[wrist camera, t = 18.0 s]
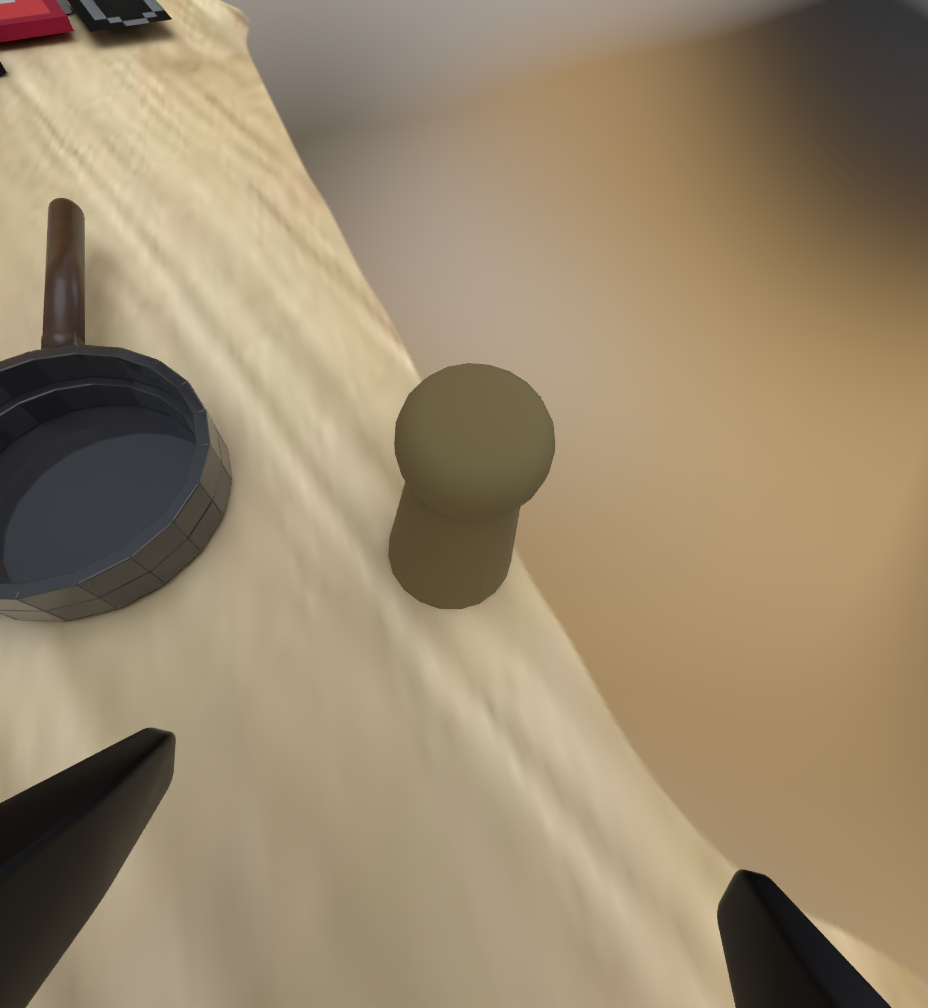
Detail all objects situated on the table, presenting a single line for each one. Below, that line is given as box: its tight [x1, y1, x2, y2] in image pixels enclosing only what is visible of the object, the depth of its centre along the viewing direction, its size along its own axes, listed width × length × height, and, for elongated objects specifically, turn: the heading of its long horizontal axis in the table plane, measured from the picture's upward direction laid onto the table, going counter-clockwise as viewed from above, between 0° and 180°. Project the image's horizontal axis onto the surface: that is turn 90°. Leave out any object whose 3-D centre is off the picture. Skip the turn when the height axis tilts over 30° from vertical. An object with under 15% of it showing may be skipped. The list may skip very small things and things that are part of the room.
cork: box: [389, 363, 555, 609], centre depth 20 cm, size 6×6×11 cm
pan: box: [0, 345, 232, 621], centre depth 22 cm, size 12×12×4 cm
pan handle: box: [41, 198, 85, 350], centre depth 26 cm, size 12×2×2 cm, turn 18°
